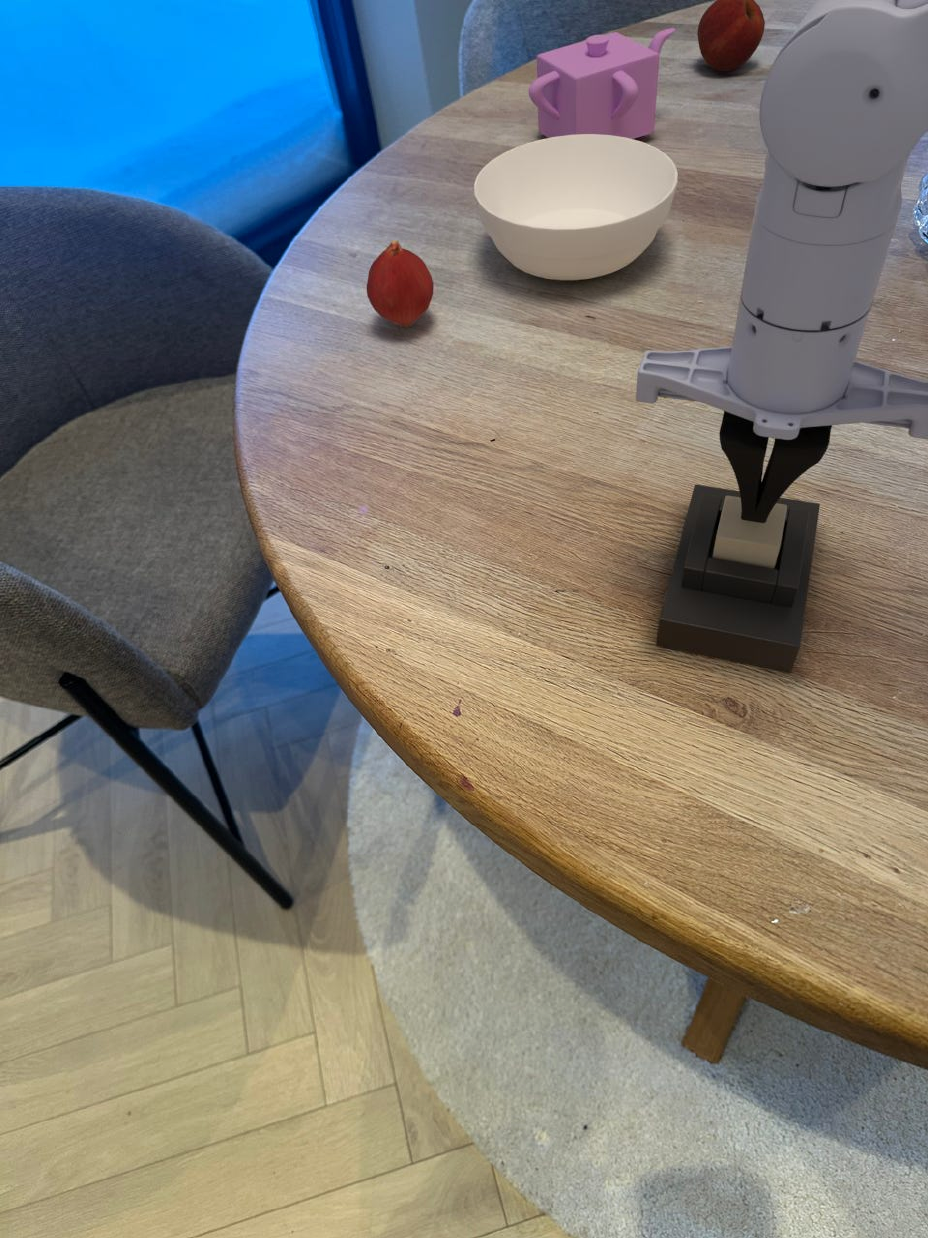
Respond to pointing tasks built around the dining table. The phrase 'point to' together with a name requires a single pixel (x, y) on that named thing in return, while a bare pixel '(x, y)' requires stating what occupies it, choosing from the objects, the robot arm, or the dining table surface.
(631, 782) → the dining table surface
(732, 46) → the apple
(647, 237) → the bowl
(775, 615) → the switch plate
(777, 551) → the switch
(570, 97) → the teapot
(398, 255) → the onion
